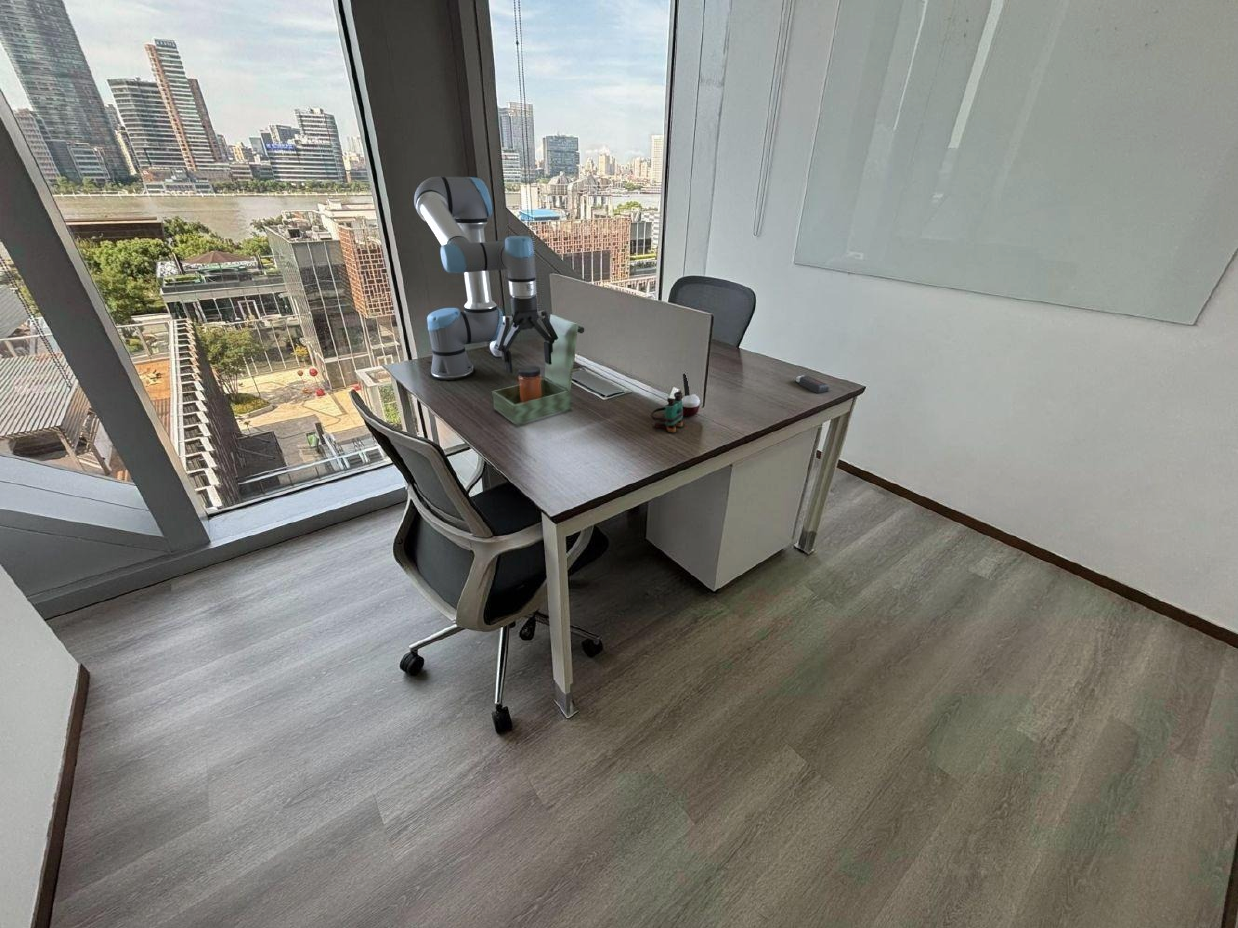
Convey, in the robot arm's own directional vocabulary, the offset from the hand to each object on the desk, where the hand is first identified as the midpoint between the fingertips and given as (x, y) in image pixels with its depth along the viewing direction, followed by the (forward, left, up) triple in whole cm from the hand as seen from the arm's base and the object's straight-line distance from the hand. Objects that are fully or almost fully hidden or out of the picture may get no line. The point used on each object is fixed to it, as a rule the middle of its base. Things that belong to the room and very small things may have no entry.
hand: (529, 367), depth 150 cm
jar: (0, 0, -14) cm, 14 cm away
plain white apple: (-57, +17, -15) cm, 62 cm away
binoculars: (+34, +27, -15) cm, 46 cm away
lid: (0, +11, +3) cm, 12 cm away
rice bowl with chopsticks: (+32, +39, -15) cm, 52 cm away
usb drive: (+42, +93, -15) cm, 103 cm away
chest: (0, 0, -15) cm, 15 cm away
